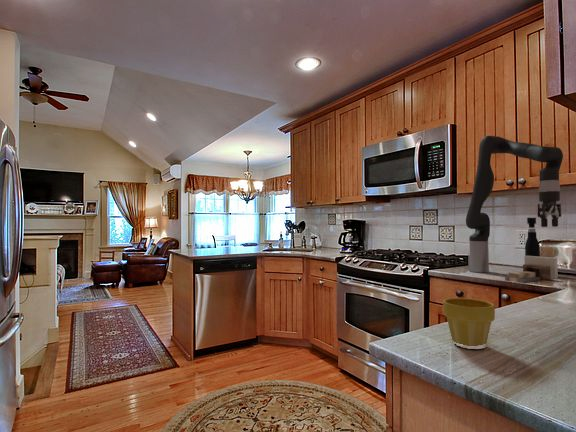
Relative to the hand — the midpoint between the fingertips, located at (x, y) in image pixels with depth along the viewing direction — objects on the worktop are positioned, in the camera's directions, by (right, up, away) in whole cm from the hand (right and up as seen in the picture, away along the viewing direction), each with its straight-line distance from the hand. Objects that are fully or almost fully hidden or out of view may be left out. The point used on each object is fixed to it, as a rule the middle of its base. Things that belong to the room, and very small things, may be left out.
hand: (549, 226), depth 152 cm
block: (+4, -26, +13) cm, 29 cm away
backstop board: (+9, -26, +18) cm, 33 cm away
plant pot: (-77, -25, -75) cm, 110 cm away
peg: (-7, -26, +8) cm, 28 cm away
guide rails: (-6, -26, +8) cm, 28 cm away
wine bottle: (+12, -26, +27) cm, 39 cm away
